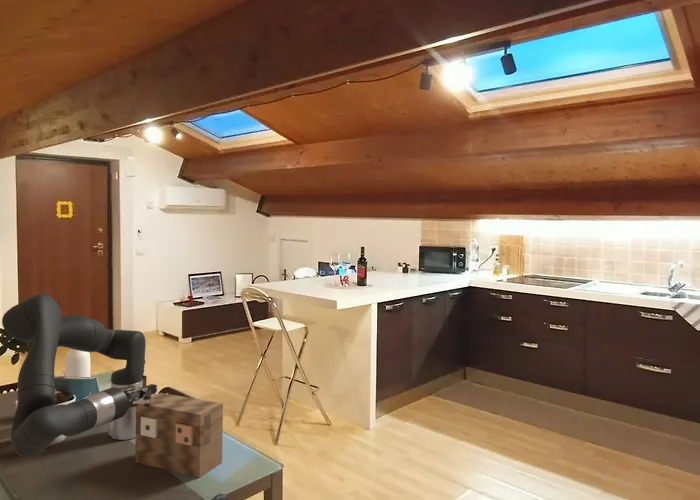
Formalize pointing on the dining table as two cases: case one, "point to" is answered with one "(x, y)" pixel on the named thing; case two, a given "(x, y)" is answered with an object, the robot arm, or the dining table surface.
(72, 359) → the bottle
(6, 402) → the dining table surface
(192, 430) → the two dot button
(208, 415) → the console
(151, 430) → the one dot button
